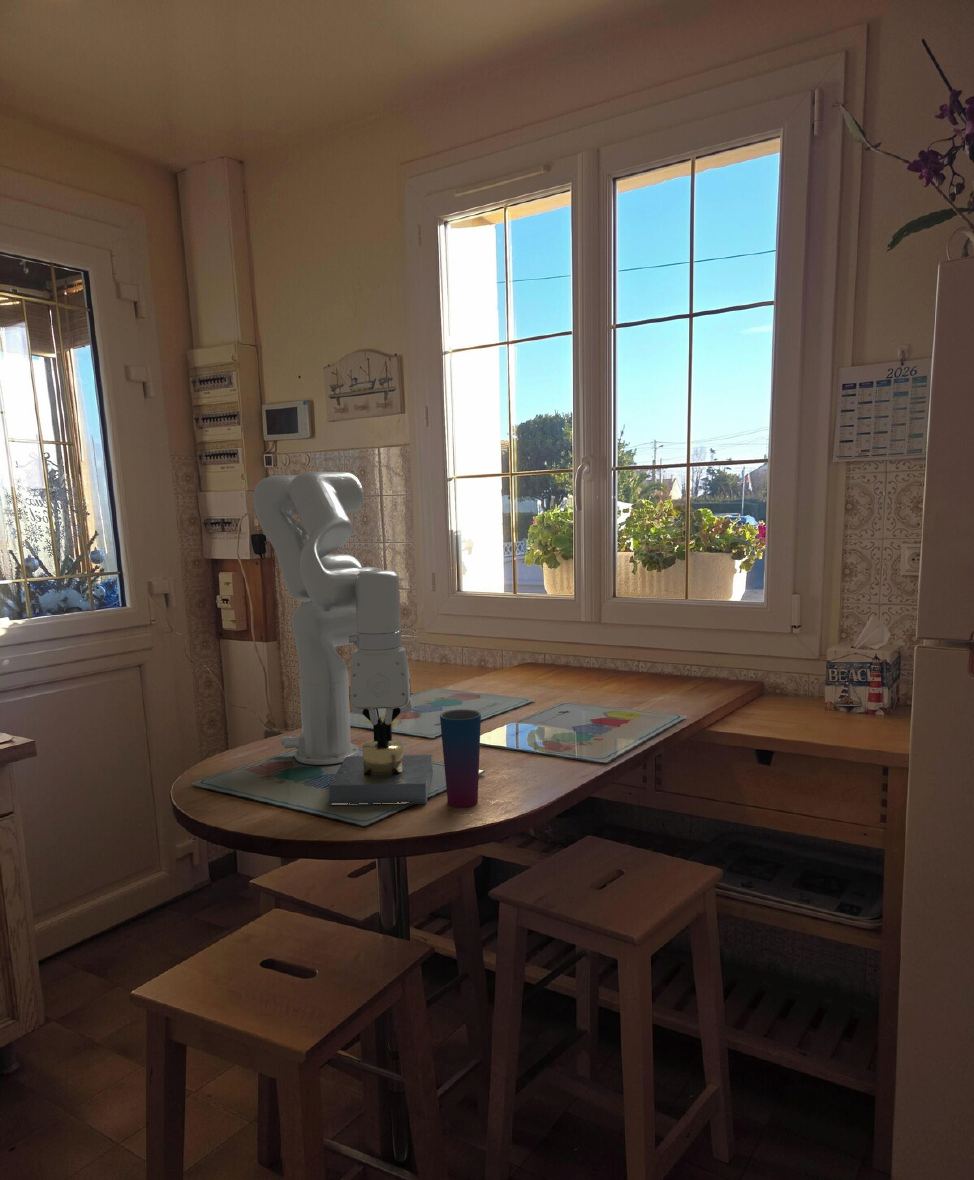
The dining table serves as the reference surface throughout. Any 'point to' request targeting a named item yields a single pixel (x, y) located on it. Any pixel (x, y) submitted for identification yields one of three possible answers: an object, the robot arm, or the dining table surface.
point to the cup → (461, 755)
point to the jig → (382, 782)
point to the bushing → (383, 758)
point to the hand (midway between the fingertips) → (383, 744)
